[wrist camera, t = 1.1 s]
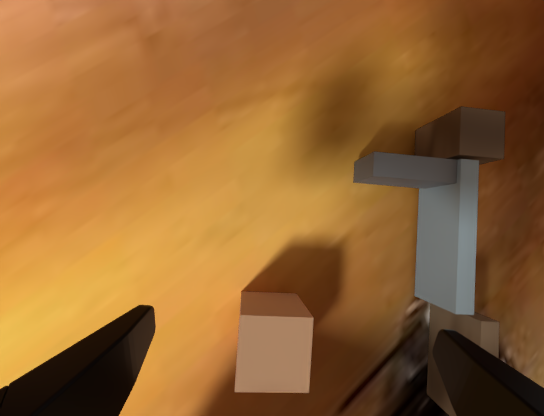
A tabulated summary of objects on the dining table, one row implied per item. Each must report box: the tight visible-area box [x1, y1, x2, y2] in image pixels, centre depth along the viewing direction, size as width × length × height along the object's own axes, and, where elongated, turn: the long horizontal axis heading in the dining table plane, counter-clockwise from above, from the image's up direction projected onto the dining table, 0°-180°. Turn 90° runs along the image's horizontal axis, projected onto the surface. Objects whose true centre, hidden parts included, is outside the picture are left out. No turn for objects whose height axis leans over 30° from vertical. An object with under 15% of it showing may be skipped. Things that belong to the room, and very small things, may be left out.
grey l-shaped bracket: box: [353, 152, 479, 315], centre depth 19 cm, size 10×7×4 cm
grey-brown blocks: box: [415, 106, 505, 416], centre depth 19 cm, size 20×3×4 cm, turn 176°
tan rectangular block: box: [235, 291, 314, 393], centre depth 17 cm, size 4×4×5 cm
